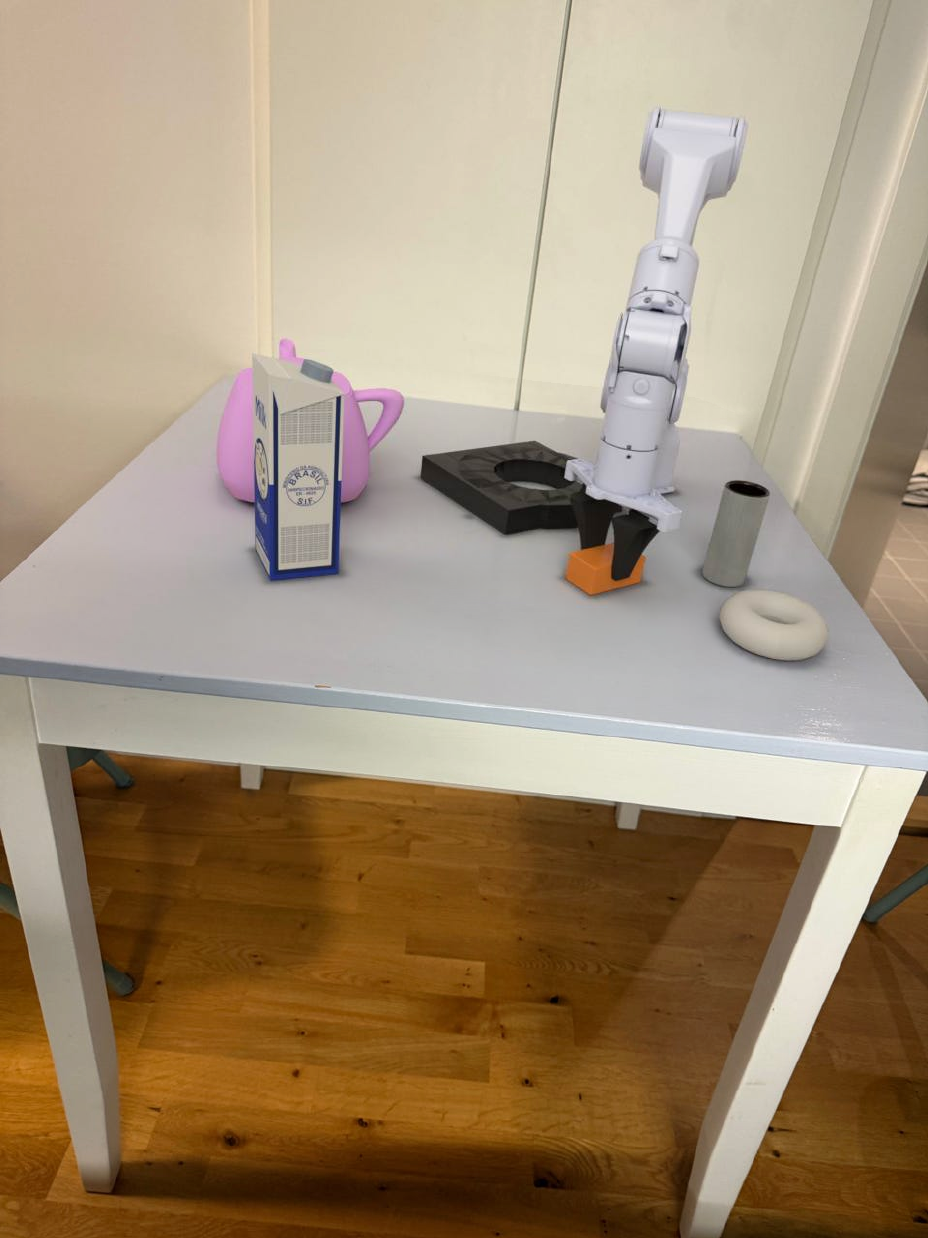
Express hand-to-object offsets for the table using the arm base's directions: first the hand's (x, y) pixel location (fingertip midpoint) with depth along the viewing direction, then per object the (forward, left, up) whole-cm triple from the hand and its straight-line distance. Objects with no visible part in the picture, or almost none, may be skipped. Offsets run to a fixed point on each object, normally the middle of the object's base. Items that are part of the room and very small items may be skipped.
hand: (605, 568), depth 92 cm
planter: (-13, +5, -2) cm, 14 cm away
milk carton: (+27, -16, -2) cm, 31 cm away
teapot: (+19, -34, -2) cm, 39 cm away
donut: (-7, +16, -2) cm, 18 cm away
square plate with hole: (-7, -21, -1) cm, 22 cm away
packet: (0, 0, -1) cm, 1 cm away
